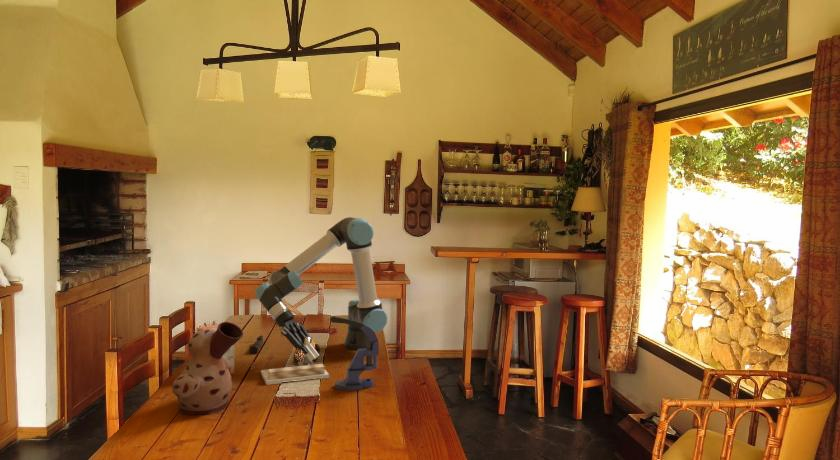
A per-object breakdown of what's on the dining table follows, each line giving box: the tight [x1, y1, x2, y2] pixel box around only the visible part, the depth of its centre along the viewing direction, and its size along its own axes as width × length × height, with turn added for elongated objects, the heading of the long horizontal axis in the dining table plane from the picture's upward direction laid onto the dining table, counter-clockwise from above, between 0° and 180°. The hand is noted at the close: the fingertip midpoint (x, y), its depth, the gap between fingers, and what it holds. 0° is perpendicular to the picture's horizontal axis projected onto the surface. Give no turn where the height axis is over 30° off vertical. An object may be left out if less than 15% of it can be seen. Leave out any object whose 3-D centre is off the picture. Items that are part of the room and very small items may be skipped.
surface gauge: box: [297, 336, 317, 366], centre depth 238 cm, size 6×8×13 cm
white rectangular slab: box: [260, 369, 330, 386], centre depth 234 cm, size 25×14×2 cm, turn 114°
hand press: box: [329, 315, 380, 391], centre depth 223 cm, size 19×9×28 cm, turn 103°
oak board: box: [267, 363, 326, 380], centre depth 231 cm, size 22×4×3 cm, turn 114°
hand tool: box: [248, 335, 264, 355], centre depth 273 cm, size 19×4×5 cm, turn 2°
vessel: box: [171, 321, 244, 415], centre depth 199 cm, size 29×22×30 cm
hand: (314, 358), depth 238 cm, fingers closed on surface gauge, 2 cm apart
